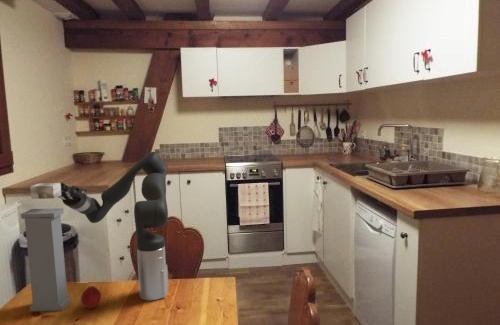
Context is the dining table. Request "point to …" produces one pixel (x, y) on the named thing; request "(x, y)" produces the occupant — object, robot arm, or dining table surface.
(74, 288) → the dining table surface
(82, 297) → the onion
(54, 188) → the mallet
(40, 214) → the stand
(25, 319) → the dining table surface
